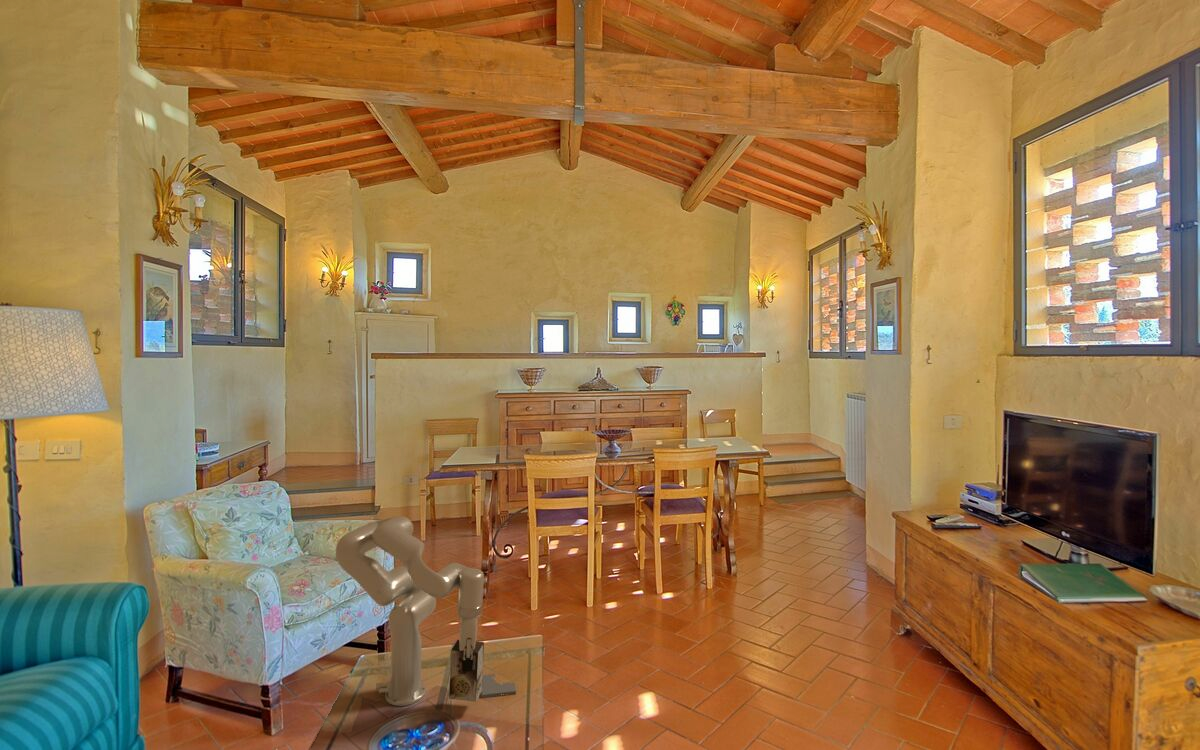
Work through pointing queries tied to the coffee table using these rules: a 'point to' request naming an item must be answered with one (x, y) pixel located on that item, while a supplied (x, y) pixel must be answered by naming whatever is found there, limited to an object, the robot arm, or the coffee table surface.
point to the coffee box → (466, 674)
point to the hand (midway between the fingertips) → (467, 662)
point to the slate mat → (495, 687)
